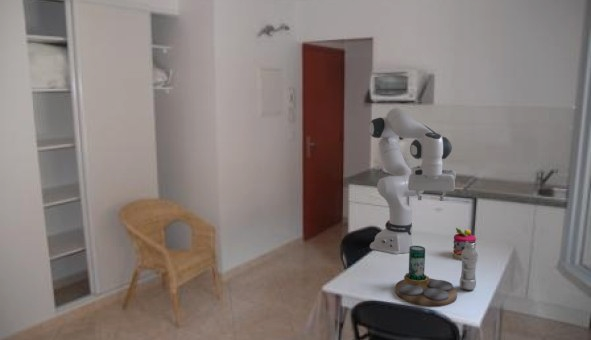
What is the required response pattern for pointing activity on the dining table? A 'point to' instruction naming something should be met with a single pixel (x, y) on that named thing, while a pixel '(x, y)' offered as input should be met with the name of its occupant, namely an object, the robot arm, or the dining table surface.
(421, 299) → the wooden stone platter
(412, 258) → the can
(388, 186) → the robot arm
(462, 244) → the cake
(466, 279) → the plastic bottle
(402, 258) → the dining table surface
